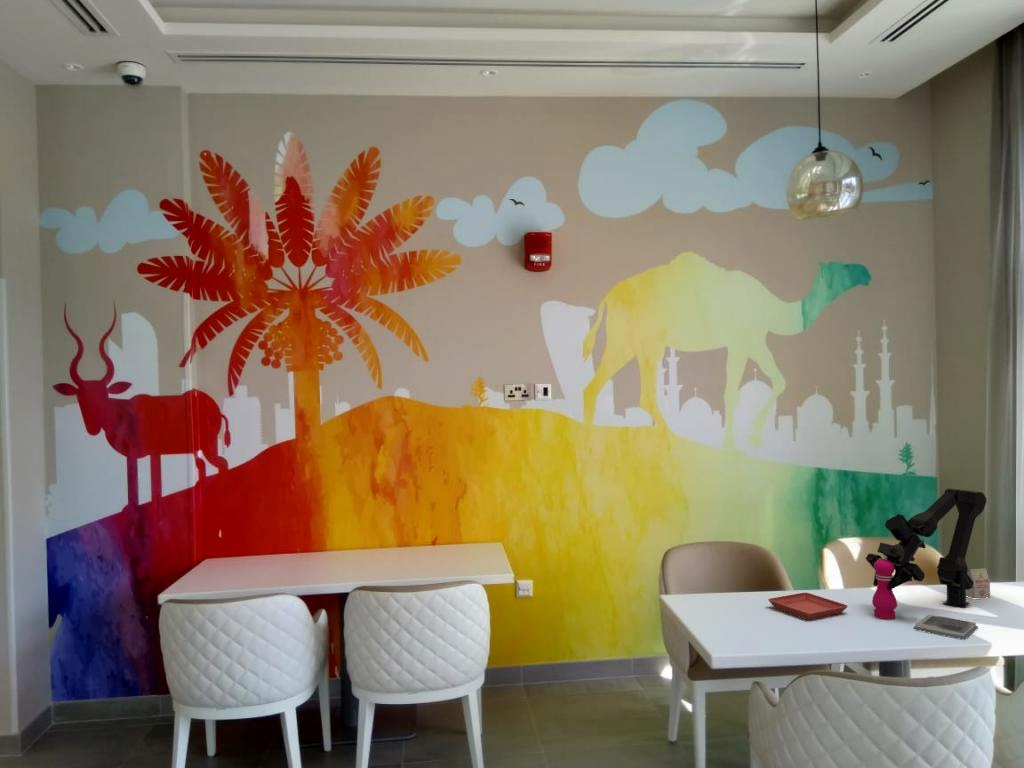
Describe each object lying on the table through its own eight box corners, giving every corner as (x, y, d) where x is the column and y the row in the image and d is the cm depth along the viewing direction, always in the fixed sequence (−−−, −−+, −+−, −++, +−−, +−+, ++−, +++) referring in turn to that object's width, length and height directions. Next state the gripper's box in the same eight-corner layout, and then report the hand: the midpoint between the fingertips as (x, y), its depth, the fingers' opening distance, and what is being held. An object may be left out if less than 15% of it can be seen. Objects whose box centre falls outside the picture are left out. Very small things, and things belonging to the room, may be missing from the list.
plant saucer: (849, 615, 253) (849, 604, 253) (809, 623, 245) (808, 612, 245) (805, 601, 269) (805, 591, 269) (766, 608, 261) (766, 599, 261)
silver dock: (927, 619, 246) (927, 613, 246) (977, 628, 237) (977, 622, 237) (913, 629, 236) (913, 623, 236) (965, 640, 226) (965, 633, 226)
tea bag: (965, 596, 271) (964, 568, 271) (981, 595, 272) (981, 567, 272) (973, 599, 268) (972, 570, 268) (990, 598, 269) (989, 569, 269)
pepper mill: (900, 620, 245) (899, 557, 245) (875, 619, 247) (874, 556, 247) (893, 613, 252) (893, 552, 252) (869, 612, 254) (869, 551, 254)
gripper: (869, 528, 260) (844, 565, 255) (917, 539, 243) (892, 578, 238) (886, 550, 263) (862, 586, 259) (935, 561, 246) (911, 600, 241)
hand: (881, 587), depth 249 cm, fingers closed on pepper mill, 5 cm apart
